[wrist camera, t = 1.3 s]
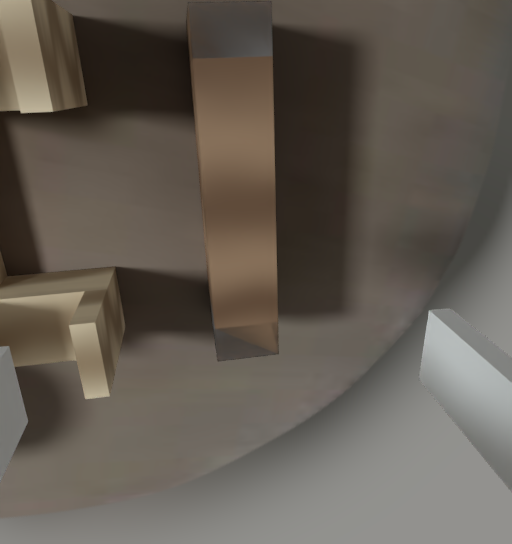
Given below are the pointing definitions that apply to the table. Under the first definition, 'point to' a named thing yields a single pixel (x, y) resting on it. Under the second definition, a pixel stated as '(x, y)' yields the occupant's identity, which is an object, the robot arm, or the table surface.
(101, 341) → the posts
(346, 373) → the table surface
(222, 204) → the brown rectangular block
